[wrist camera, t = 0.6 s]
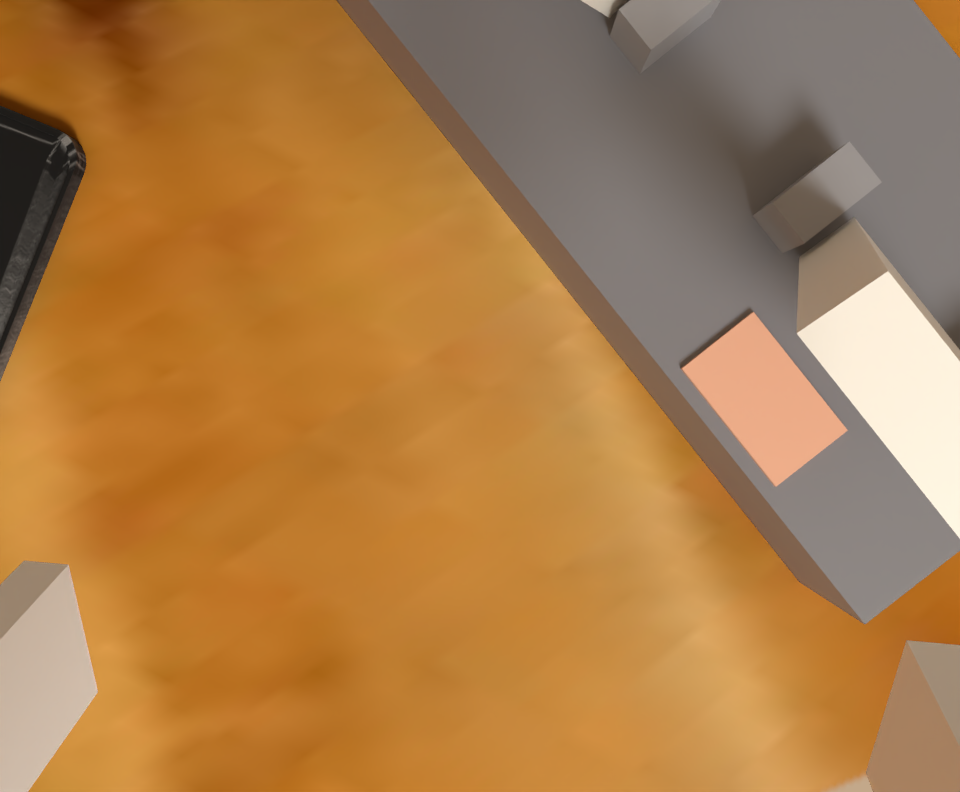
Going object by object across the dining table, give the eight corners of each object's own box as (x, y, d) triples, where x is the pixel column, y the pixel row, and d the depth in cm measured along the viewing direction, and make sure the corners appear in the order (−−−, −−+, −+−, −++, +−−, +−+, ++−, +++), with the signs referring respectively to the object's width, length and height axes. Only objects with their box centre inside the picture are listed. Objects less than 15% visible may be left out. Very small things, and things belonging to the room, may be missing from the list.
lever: (913, 399, 28) (982, 568, 17) (799, 256, 28) (796, 333, 17) (971, 364, 27) (1084, 518, 16) (854, 216, 27) (888, 271, 16)
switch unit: (799, 582, 34) (893, 642, 26) (306, -38, 34) (249, -167, 26) (1075, 366, 34) (1255, 361, 26) (578, -259, 34) (605, -459, 26)
